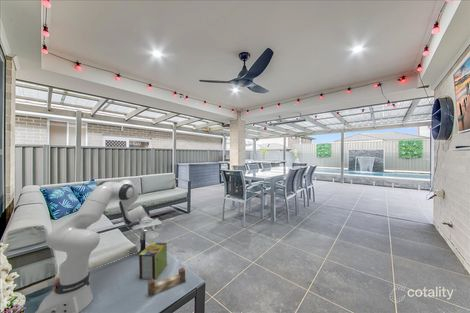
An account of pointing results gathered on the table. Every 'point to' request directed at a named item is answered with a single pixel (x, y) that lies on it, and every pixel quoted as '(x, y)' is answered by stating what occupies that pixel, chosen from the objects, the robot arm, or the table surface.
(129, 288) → the table surface
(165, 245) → the protein box
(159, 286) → the beam
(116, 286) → the table surface
